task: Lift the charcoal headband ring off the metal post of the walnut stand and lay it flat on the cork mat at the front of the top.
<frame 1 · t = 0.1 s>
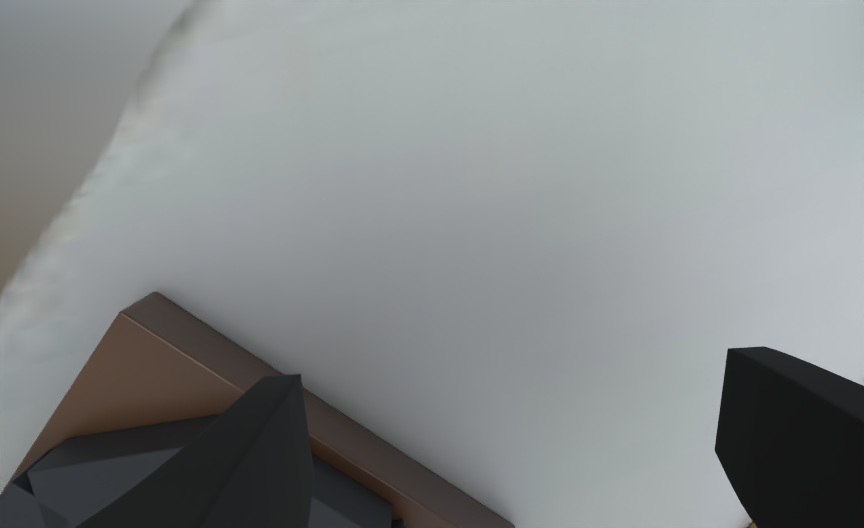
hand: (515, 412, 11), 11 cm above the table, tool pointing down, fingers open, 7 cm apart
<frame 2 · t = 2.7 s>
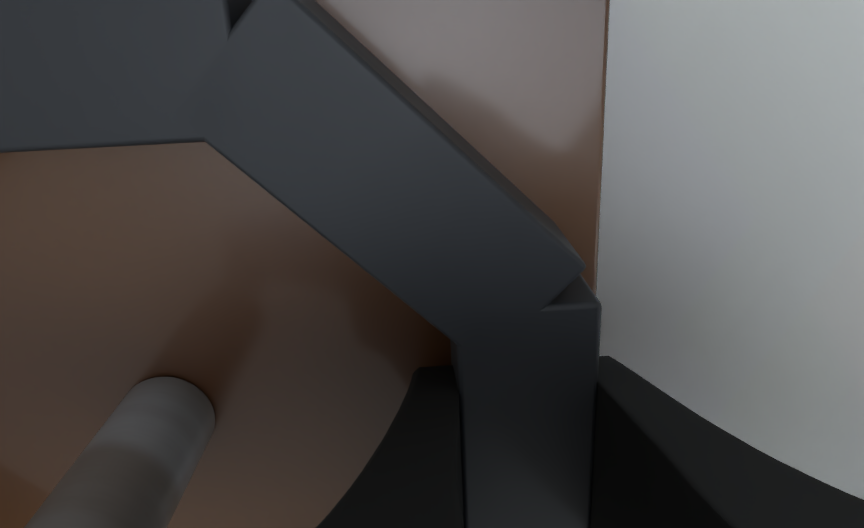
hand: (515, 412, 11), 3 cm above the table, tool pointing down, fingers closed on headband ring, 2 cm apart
headband ring: (169, 413, 11), point 2 cm above the table, touching gripper, stand
stand: (212, 346, 13), on the table
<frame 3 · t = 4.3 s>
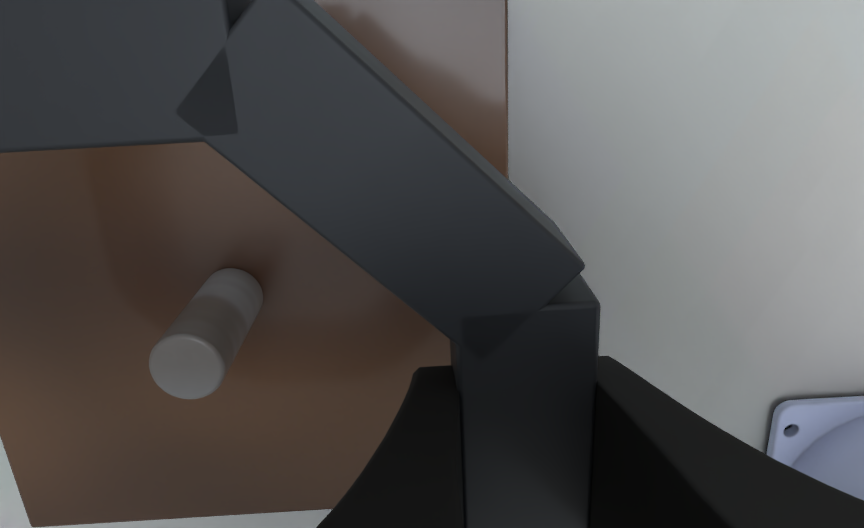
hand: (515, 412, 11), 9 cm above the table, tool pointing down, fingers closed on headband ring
headband ring: (170, 413, 11), point 9 cm above the table, touching gripper
stand: (255, 262, 20), on the table
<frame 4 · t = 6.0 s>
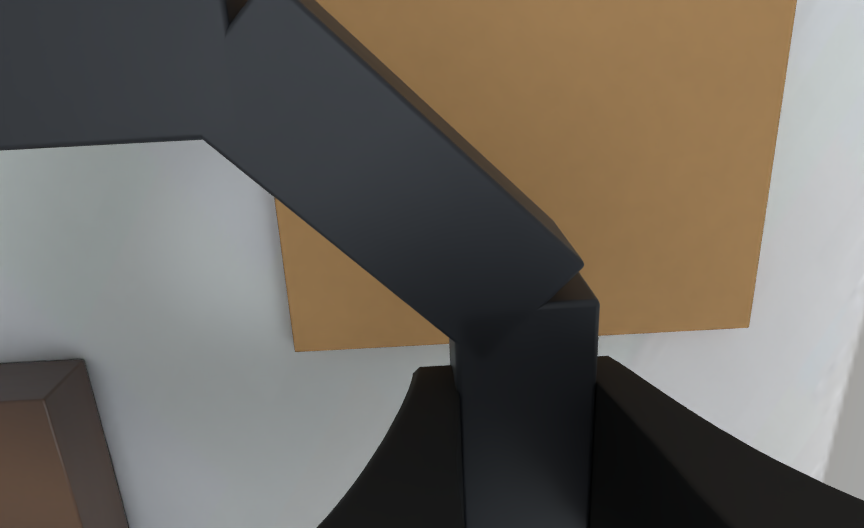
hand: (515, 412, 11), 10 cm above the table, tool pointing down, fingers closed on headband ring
mat: (523, 32, 18), on the table
headband ring: (168, 412, 11), point 9 cm above the table, touching gripper
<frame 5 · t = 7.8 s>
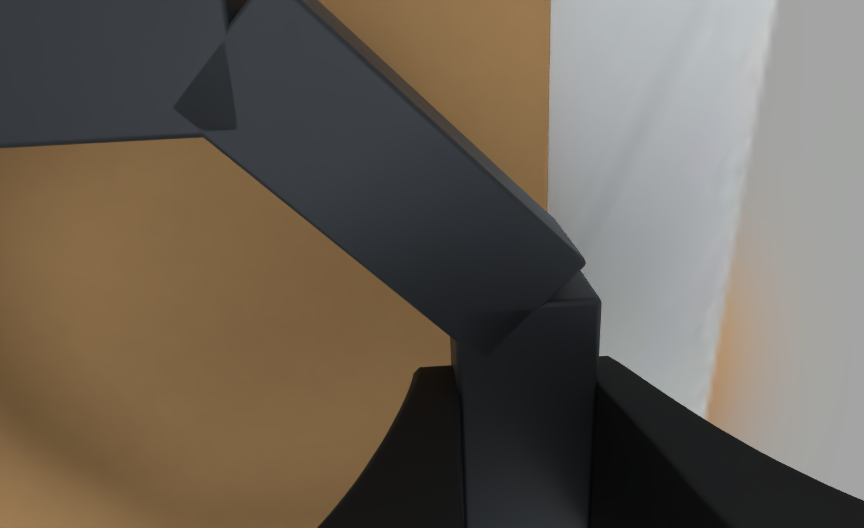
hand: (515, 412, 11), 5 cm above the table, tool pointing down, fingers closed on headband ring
mat: (236, 308, 15), on the table
headband ring: (169, 411, 11), point 5 cm above the table, touching gripper
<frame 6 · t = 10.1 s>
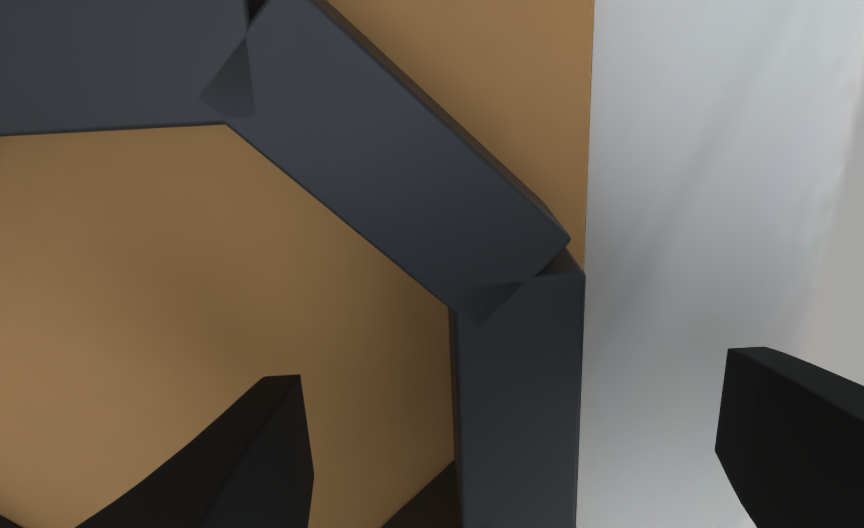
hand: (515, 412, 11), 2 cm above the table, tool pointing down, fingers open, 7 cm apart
mat: (194, 375, 12), on the table
headband ring: (186, 383, 12), resting on mat
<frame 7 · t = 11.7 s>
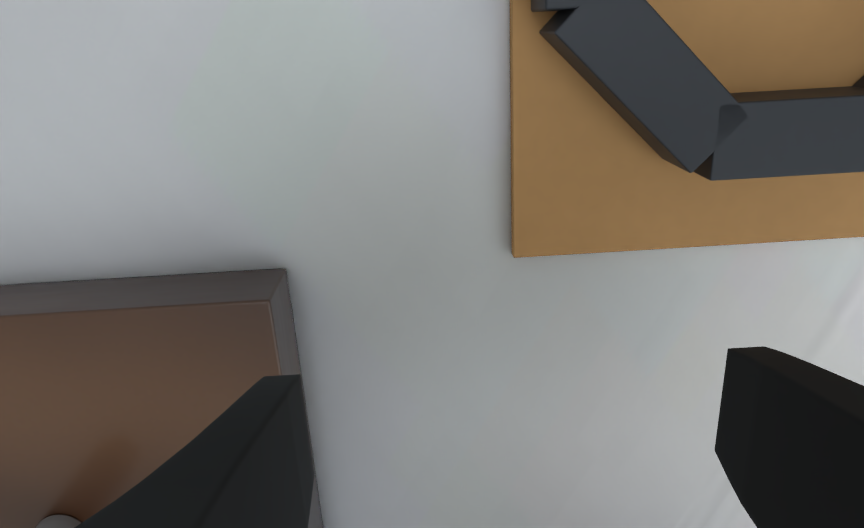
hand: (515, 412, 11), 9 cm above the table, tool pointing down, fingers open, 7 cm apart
stand: (100, 479, 22), on the table
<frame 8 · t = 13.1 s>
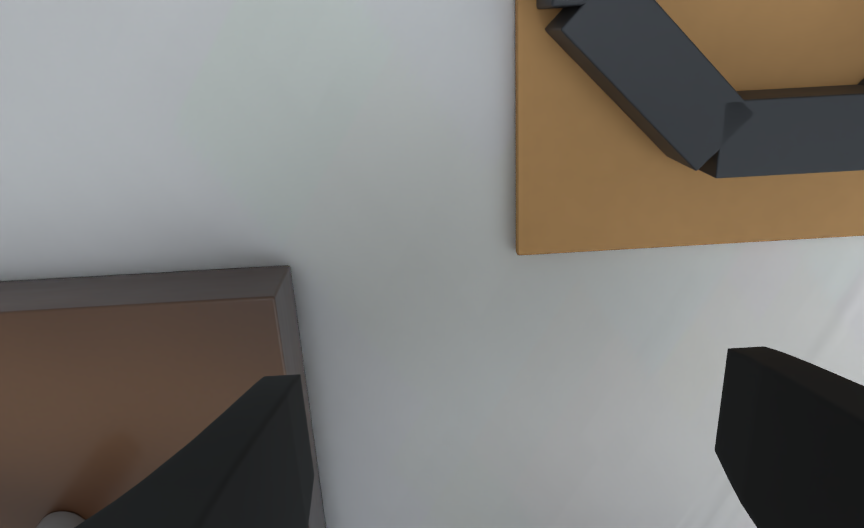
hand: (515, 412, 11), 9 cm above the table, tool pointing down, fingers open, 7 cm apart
stand: (103, 477, 22), on the table
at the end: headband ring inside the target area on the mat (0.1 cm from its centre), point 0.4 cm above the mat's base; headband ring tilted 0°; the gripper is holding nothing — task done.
